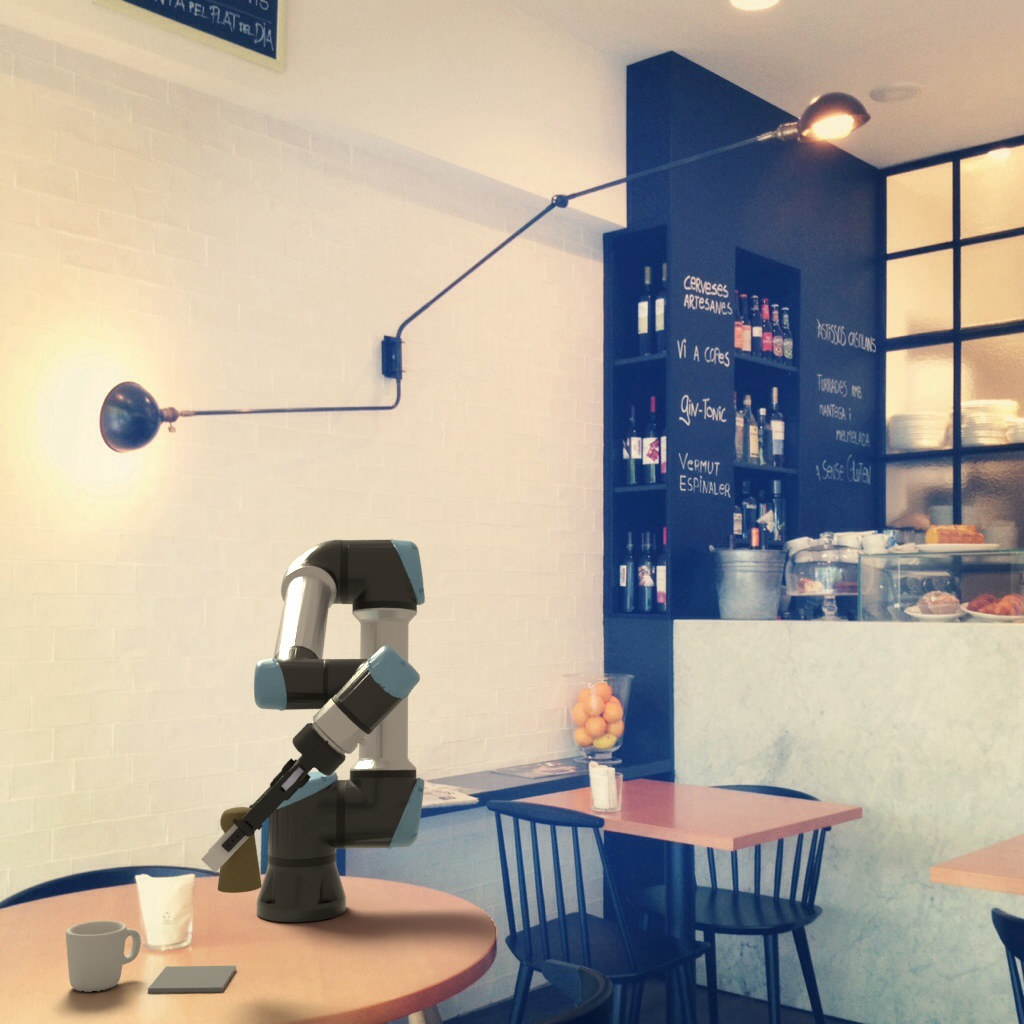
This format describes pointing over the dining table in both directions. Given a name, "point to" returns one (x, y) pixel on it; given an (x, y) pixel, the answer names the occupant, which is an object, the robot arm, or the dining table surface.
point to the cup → (98, 954)
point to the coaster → (192, 979)
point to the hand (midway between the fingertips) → (212, 860)
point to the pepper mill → (239, 859)
